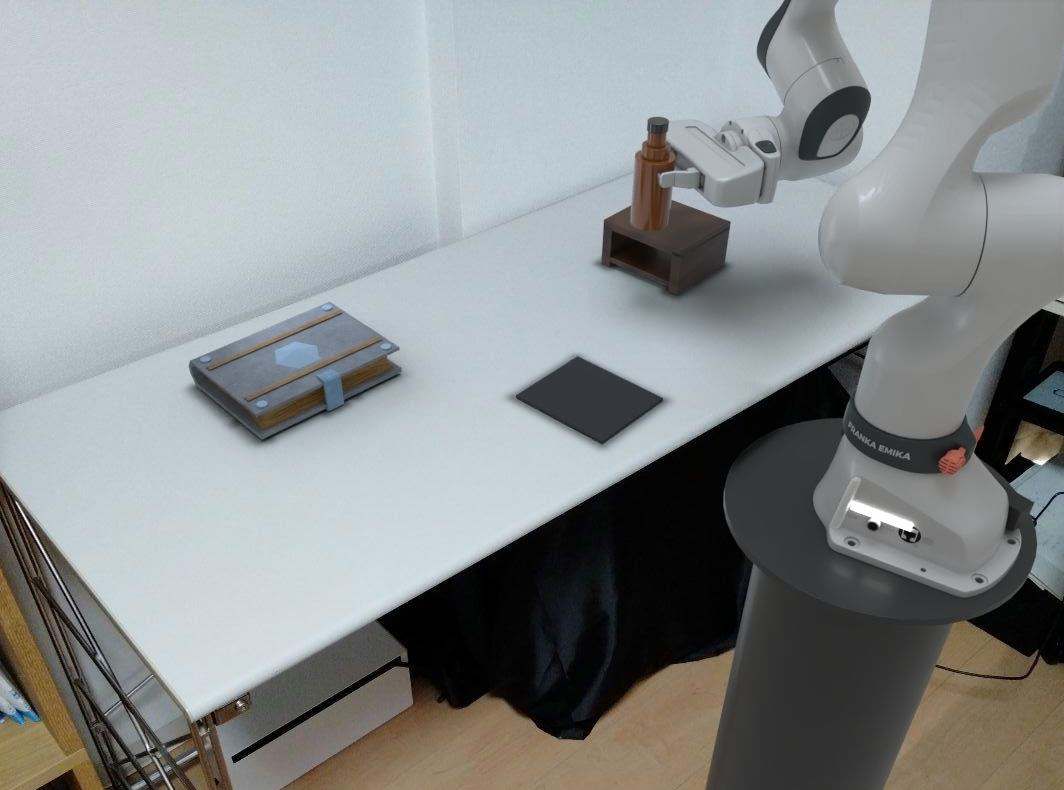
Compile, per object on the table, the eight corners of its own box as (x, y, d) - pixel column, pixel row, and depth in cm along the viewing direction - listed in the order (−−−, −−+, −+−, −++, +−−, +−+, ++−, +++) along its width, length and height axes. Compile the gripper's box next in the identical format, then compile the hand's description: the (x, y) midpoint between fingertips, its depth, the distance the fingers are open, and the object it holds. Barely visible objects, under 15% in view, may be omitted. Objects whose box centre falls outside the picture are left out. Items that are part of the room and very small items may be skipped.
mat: (662, 400, 130) (663, 398, 129) (602, 444, 123) (602, 441, 123) (577, 358, 136) (577, 356, 136) (515, 397, 130) (515, 395, 130)
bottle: (677, 221, 138) (687, 119, 129) (653, 235, 136) (662, 132, 126) (646, 210, 141) (654, 109, 132) (622, 223, 138) (628, 121, 129)
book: (329, 325, 142) (325, 293, 139) (403, 375, 133) (400, 342, 130) (193, 385, 132) (184, 351, 128) (264, 444, 123) (256, 409, 120)
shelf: (724, 265, 155) (731, 221, 150) (676, 295, 148) (682, 250, 143) (649, 235, 162) (653, 192, 157) (601, 263, 155) (603, 219, 150)
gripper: (709, 102, 141) (616, 115, 138) (787, 160, 127) (685, 176, 124) (704, 148, 146) (614, 162, 142) (778, 208, 132) (680, 226, 128)
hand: (648, 169), depth 133 cm, fingers closed on bottle, 5 cm apart
